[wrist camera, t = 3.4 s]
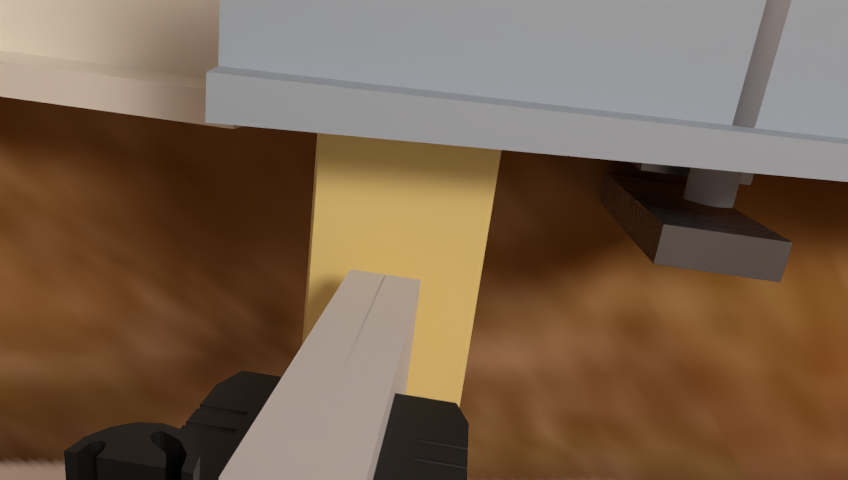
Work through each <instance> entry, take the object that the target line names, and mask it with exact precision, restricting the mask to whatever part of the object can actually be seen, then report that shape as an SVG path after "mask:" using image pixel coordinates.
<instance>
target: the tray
mask: <svg viewBox="0 0 848 480" xmlns="http://www.w3.org/2000/svg"><path fill="white" fill-rule="evenodd" d="M219 5H220V0H0V97H7V98H15V99H22V100H29V101H36V102H43V103H50V104H58V105H65V106H72V107H79V108H86V109H93V110H101V111H108V112H115V113H122V114H129V115H136V116H144V117H151V118H158V119H165V120H172V121H179V122H187V123H194V124H201V125H208V126H215V127H222V128H230V129H235V128H239V127H242V126H238V125H227V124H217V123H206V122H205V116H206V72H207V71H209V70H211V69H213V68H215V67H217V66H218V52H219Z"/></svg>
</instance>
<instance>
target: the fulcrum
mask: <svg viewBox="0 0 848 480" xmlns="http://www.w3.org/2000/svg"><path fill="white" fill-rule="evenodd" d="M629 163H631V164H632V165H634V166H635V167H637V168H638V169H640V170H643V171H650V172H658V173H665V174H672V175H679V176H686V177H688V176H689V172H690V168H691V167H681V166H670V165H659V164H648V163H638V162H629ZM753 176H754V173H745V172H743V174H742V177H741V180H740V184H744V185H751V182H752V179H753ZM685 187H686V185H684V184H677V183H670V182H663V181H655V180H648V179H641V178H634V177H627V176H619V175H612V174H606V178H605V182H604V187H603V191H602V196H601V200H600V202H601V203H602V205H603V206H604V207H605V208H606V209H607V210H608V212H609V213H610V214H611V215H612V216H613V217H614V219H615V220H616V221H617V222H618V223H619V224H620V226H621V227H622V228H623V229H624V230H625V231H626V232H627V234H628V235H629V236H630V237H631V238H632V239H633V241H634V242H635V243H636V244H637V245H638V246H639V248H640V249H641V250H642V251H643V252H644V253H645V254H646V256H647V257H648V258H649V259H650V260H651V261H652V263H653V264H658V265H665V266H672V267H679V268H685V269H692V270H699V271H706V272H713V273H720V274H727V275H733V276H740V277H747V278H754V279H761V280H768V281H775V282H780V281H781V278H782V275H783V272H784V269H785V266H786V263H787V260H788V257H789V254H790V251H791V248H792V245H793V242H791V241H789V240H788V239H786V238H784V237H782V236H781V235H779V234H777V233H776V232H774V231H772V230H770V229H769V228H767V227H765V226H763V225H762V224H760V223H758V222H756V221H755V220H753V219H751V218H750V217H748V216H746V215H744V214H743V213H741V212H739V211H737V210H736V209H734V208H720V207H713V206H708V205H703V204H699V203H695V202H692V201H689V200H686V199H684V198H683V195H684V191H685Z"/></svg>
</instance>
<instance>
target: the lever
mask: <svg viewBox="0 0 848 480" xmlns="http://www.w3.org/2000/svg"><path fill="white" fill-rule="evenodd" d="M205 122H206V123H217V124H227V125H238V126H249V127H260V128H271V129H281V130H292V131H303V132H314V133H317V144H316V159H315V173H314V187H313V201H312V215H311V229H310V243H309V257H308V271H307V285H306V299H305V313H304V327H303V341H302V345H303V343H304V342H305V340H306V338H307V337H308V335H309V334H310V332H311V331H312V329H313V327H314V326H315V324H316V323H317V321H318V319H319V318H320V316H321V315H322V313H323V312H324V310H325V308H326V307H327V305H328V304H329V302H330V300H331V299H332V297H333V296H334V294H335V293H336V291H337V289H338V288H339V286H340V285H341V283H342V281H343V280H344V278H345V277H346V275H347V274H348V272H349V270H350V269H352V270H359V271H366V272H372V273H379V274H386V275H392V276H399V277H406V278H412V279H419V280H421V283H420V290H419V298H418V305H417V313H416V320H415V328H414V335H413V343H412V350H411V358H410V365H409V373H408V381H407V388H406V395H410V396H416V397H423V398H429V399H435V400H441V401H447V402H454V403H457V405H458V407H459V406H460V400H461V394H462V388H463V382H464V376H465V370H466V364H467V358H468V352H469V346H470V340H471V334H472V327H473V321H474V315H475V309H476V303H477V297H478V291H479V285H480V279H481V273H482V267H483V261H484V255H485V248H486V242H487V236H488V230H489V224H490V218H491V212H492V206H493V200H494V194H495V188H496V182H497V176H498V169H499V163H500V157H501V151H502V150H508V151H519V152H530V153H540V154H551V155H562V156H573V157H584V158H594V159H605V160H616V161H627V162H638V163H648V164H659V165H670V166H681V167H691V168H690V172H689V176H688V179H687V183H686V187H685V191H684V195H683V198H684V199H686V200H689V201H692V202H695V203H699V204H703V205H708V206H713V207H720V208H732V207H733V205H734V201H735V198H736V194H737V191H738V187H739V184H740V180H741V177H742V174H743V172H745V173H756V174H767V175H778V176H789V177H799V178H810V179H821V180H832V181H843V182H848V0H220V5H219V52H218V66H217V67H215V68H213V69H211V70H209V71H207V72H206V116H205Z"/></svg>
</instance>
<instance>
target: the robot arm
mask: <svg viewBox="0 0 848 480" xmlns="http://www.w3.org/2000/svg"><path fill="white" fill-rule="evenodd" d="M420 283H421V280H419V279H412V278H406V277H399V276H392V275H386V274H379V273H372V272H366V271H359V270H352V269H350V270H349V272H348V274H347V275H346V277H345V278H344V280H343V281H342V283H341V285H340V286H339V288H338V289H337V291H336V293H335V294H334V296H333V297H332V299H331V300H330V302H329V304H328V305H327V307H326V308H325V310H324V312H323V313H322V315H321V316H320V318H319V319H318V321H317V323H316V324H315V326H314V327H313V329H312V331H311V332H310V334H309V335H308V337H307V338H306V340H305V342H304V343H303V345H302V346H301V348H300V350H299V351H298V353H297V354H296V356H295V357H294V359H293V361H292V362H291V364H290V365H289V367H288V369H287V370H286V372H285V373H284V375H283V376H282V377H278V376H272V375H265V374H259V373H253V372H247V371H241V372H239V373H237V374H235V375H234V376H232V377H230V378H228V379H226V380H225V381H223V382H221V383H219V384H217V385H216V386H215V387H214V388H213V390H212V391H211V392H210V393H209V395H208V396H207V397H206V398H205V399H204V401H203V402H202V403H201V404H200V408H199V409H196V410H195V412H194V413H193V414H192V415H191V417H190V418H189V419H188V420H187V422H186V425H185V426H182V427H181V429H178V428H175V427H172V426H169V425H166V424H163V423H140V422H137V423H131V424H125V425H119V426H113V427H109V428H107V429H104V430H102V431H99V432H96V433H94V434H91V435H89V436H86V437H84V438H83V439H81V440H80V441H78V442H77V443H76V444H74V445H73V446H71V447H70V448H68V449H67V450H65V451H64V454H65V470H66V480H467V456H468V451H467V448H468V425H469V424H468V422H467V420H466V419H465V417H464V415H463V413H462V412H461V410H460V408H459V407H458V405H457V403H454V402H447V401H441V400H435V399H429V398H423V397H416V396H410V395H406V388H407V381H408V373H409V365H410V358H411V350H412V343H413V335H414V328H415V320H416V313H417V305H418V298H419V290H420Z"/></svg>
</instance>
